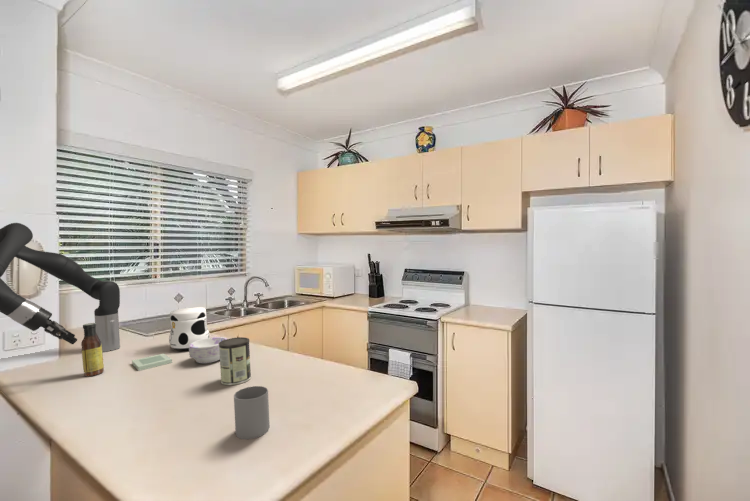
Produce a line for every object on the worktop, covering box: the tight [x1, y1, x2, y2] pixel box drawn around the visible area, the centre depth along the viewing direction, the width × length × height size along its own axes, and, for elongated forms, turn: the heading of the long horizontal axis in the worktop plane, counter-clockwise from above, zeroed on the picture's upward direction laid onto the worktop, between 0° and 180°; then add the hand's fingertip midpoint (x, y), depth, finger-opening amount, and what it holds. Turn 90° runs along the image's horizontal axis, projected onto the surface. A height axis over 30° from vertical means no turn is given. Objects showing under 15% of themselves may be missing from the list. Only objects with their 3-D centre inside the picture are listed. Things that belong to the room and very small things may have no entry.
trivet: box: [131, 353, 173, 372], centre depth 150 cm, size 12×12×2 cm
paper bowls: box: [188, 336, 228, 364], centre depth 152 cm, size 15×15×8 cm
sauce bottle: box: [80, 322, 105, 377], centre depth 139 cm, size 7×6×20 cm
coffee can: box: [219, 337, 252, 386], centre depth 129 cm, size 10×10×14 cm
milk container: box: [168, 306, 210, 351], centre depth 173 cm, size 17×17×18 cm
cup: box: [233, 385, 271, 440], centre depth 93 cm, size 8×8×10 cm
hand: (74, 339), depth 135 cm, fingers open, 8 cm apart
